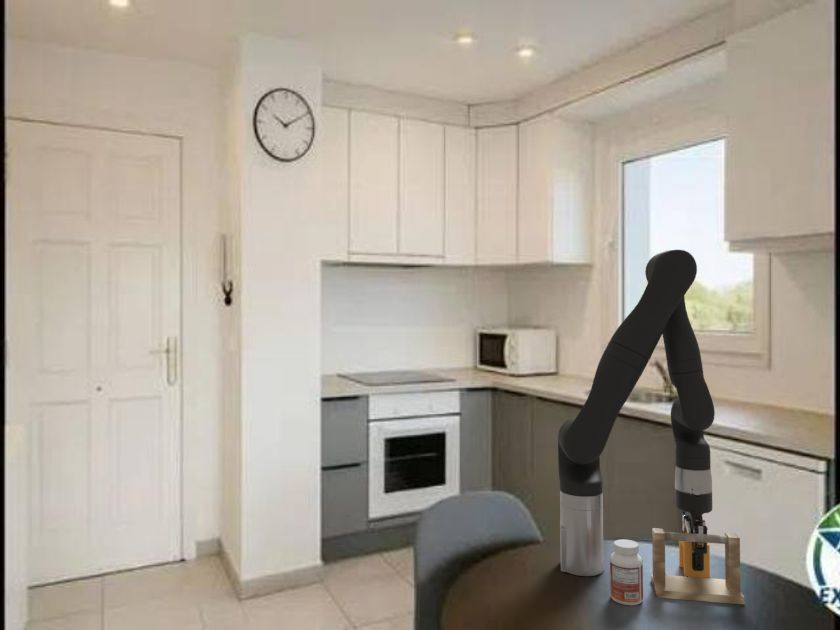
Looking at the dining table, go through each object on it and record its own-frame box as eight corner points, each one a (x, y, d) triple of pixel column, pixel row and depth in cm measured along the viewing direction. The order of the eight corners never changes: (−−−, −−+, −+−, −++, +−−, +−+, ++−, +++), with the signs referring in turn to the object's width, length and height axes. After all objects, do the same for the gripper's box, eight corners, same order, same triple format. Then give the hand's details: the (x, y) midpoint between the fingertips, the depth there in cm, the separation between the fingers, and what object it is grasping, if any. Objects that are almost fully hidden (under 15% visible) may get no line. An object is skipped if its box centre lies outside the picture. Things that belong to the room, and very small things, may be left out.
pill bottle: (621, 589, 128) (621, 535, 128) (649, 600, 123) (648, 543, 123) (604, 598, 124) (603, 542, 124) (631, 609, 119) (631, 551, 119)
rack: (657, 597, 124) (656, 537, 124) (651, 580, 132) (650, 524, 132) (744, 604, 121) (743, 542, 121) (732, 587, 128) (732, 528, 128)
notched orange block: (684, 576, 134) (684, 543, 134) (679, 565, 140) (679, 534, 140) (709, 578, 133) (709, 545, 133) (703, 567, 139) (702, 535, 139)
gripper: (669, 478, 144) (670, 550, 144) (681, 495, 130) (682, 575, 130) (703, 480, 143) (704, 553, 143) (720, 497, 129) (721, 578, 129)
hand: (694, 563), depth 136 cm, fingers open, 6 cm apart
